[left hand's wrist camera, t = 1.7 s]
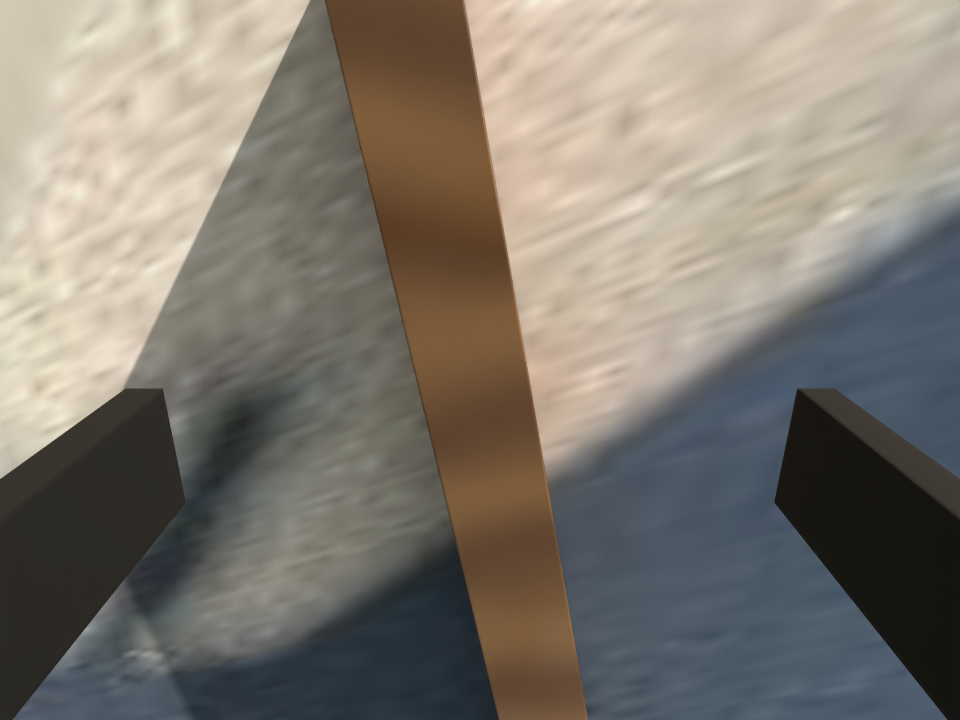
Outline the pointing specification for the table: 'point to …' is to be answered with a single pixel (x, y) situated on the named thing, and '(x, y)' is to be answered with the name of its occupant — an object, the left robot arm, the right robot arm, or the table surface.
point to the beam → (463, 333)
